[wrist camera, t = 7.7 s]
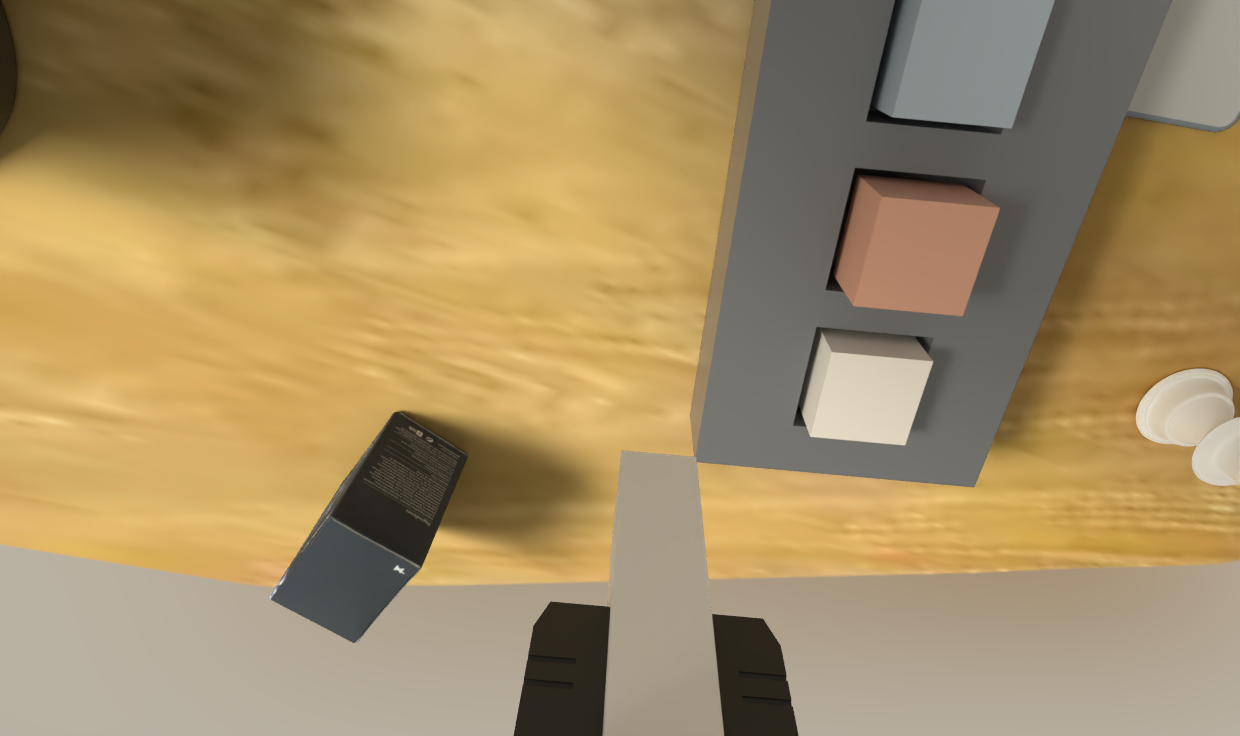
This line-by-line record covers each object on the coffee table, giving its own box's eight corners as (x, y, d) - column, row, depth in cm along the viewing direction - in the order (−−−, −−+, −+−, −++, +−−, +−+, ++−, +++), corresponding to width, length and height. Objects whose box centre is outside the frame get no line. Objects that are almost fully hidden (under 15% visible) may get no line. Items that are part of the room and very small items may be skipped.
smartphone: (1231, 136, 35) (942, 83, 34) (1217, 132, 36) (935, 80, 35) (1340, -57, 31) (1016, -123, 30) (1321, -56, 32) (1006, -120, 31)
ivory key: (796, 397, 40) (810, 436, 37) (815, 318, 38) (831, 352, 35) (882, 405, 40) (905, 445, 37) (907, 326, 38) (933, 361, 35)
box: (395, 407, 45) (329, 516, 36) (470, 453, 47) (425, 570, 37) (339, 483, 48) (264, 602, 39) (411, 524, 50) (355, 648, 40)
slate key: (866, 103, 33) (892, 117, 29) (895, -20, 30) (927, -20, 27) (972, 113, 33) (1011, 128, 29) (1010, -8, 30) (1057, -8, 27)
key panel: (690, 414, 44) (694, 462, 40) (773, -121, 31) (794, -139, 27) (942, 437, 45) (974, 487, 40) (1133, -86, 31) (1212, -98, 27)
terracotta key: (833, 274, 35) (853, 306, 32) (857, 174, 33) (882, 196, 30) (931, 283, 36) (962, 316, 32) (963, 184, 33) (1000, 208, 30)
